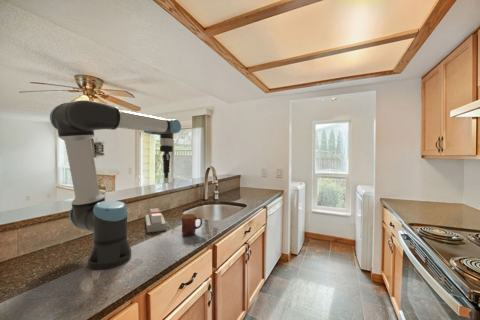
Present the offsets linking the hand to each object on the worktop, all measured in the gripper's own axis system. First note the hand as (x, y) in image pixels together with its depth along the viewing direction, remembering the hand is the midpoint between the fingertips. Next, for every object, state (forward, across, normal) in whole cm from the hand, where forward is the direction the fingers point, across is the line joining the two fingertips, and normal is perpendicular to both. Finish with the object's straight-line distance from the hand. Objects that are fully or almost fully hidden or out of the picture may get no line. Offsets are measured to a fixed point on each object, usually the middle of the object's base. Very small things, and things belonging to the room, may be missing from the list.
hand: (166, 183), depth 127 cm
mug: (+27, -23, -11) cm, 37 cm away
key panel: (+26, +2, +6) cm, 27 cm away
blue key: (+23, +10, +6) cm, 25 cm away
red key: (+22, +2, +6) cm, 23 cm away
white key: (+22, -6, +6) cm, 24 cm away
